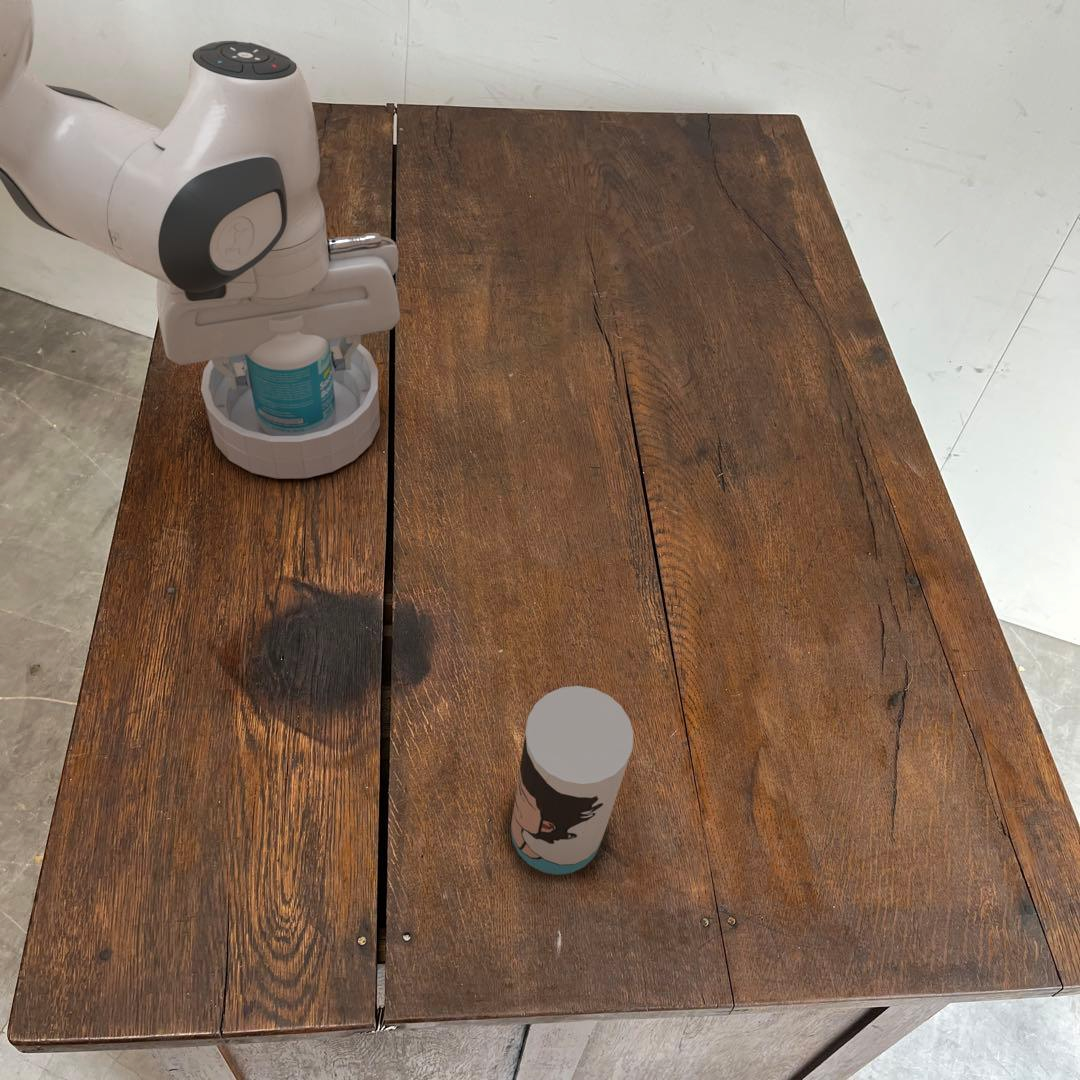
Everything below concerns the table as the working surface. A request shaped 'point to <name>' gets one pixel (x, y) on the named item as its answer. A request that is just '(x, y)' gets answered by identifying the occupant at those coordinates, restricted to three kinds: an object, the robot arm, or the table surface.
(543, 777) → the printed label cylinder
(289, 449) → the faceted round dish
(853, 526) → the table surface
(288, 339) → the pill bottle
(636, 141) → the table surface
